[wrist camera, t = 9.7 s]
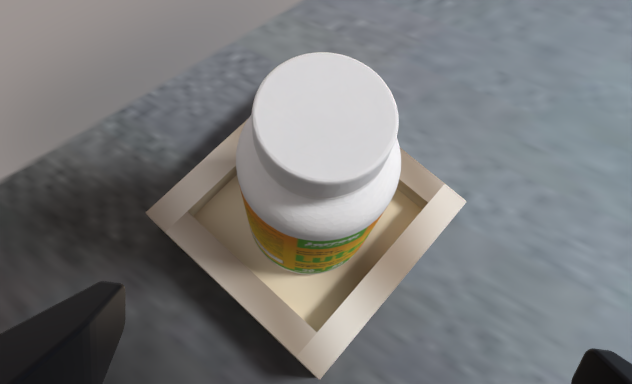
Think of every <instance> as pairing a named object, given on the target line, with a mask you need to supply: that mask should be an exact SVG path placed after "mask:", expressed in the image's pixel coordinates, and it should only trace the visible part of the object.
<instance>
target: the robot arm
mask: <svg viewBox="0 0 632 384" xmlns="http://www.w3.org/2000/svg"><path fill="white" fill-rule="evenodd" d="M124 325H125V287H124V286H123V285H122V284H121V283H114V282H107V281H101V282H98V283H96V284H94V285H92V286H91V287H89V288H87V289H85V290H83V291H81V292H79V293H77V294H75V295H73V296H71V297H70V298H68V299H66V300H64V301H62V302H60V303H58V304H56V305H54V306H52V307H50V308H49V309H47V310H45V311H43V312H41V313H39V314H37V315H35V316H33V317H31V318H29V319H27V320H26V321H24V322H22V323H20V324H18V325H16V326H14V327H12V328H10V329H8V330H6V331H5V332H3V333H1V334H0V384H102V383H103V380H104V378H105V375H106V373H107V370H108V368H109V365H110V363H111V360H112V358H113V355H114V353H115V350H116V348H117V345H118V343H119V340H120V338H121V335H122V332H123V329H124ZM571 384H632V364H631V363H629V362H628V361H626V360H625V359H623V358H622V357H620V356H619V355H617V354H616V353H614V352H612V351H608V350H601V349H589V350H588V351H586V352H585V354H584V356H583V358H582V360H581V362H580V364H579V366H578V368H577V370H576V372H575V374H574V376H573V378H572V382H571Z"/></svg>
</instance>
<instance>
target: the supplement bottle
mask: <svg viewBox="0 0 632 384" xmlns="http://www.w3.org/2000/svg"><path fill="white" fill-rule="evenodd" d="M397 132H398V111H397V106H396V102H395V100H394V97H393V95H392V93H391V91H390V89H389V88H388V86H387V85H386V83H385V82H384V81H383V80H382V78H381V77H380V76H379V75H378V74H377V73H376V72H374V71H373V70H372V69H371V68H369V67H368V66H366V65H365V64H363V63H361V62H359V61H357V60H355V59H353V58H350V57H348V56H344V55H340V54H335V53H326V52H318V53H309V54H304V55H300V56H297V57H294V58H292V59H289V60H287V61H285V62H284V63H282V64H280V65H279V66H277V67H276V68H275V69H274V70H272V71H271V72H270V73H269V74H268V75H267V76H266V78H265V79H264V81H263V82H262V83H261V85H260V87H259V88H258V90H257V93H256V95H255V98H254V102H253V107H252V114H251V116H250V117H249V118H248V120H247V122H246V123H245V125H244V127H243V129H242V132H241V134H240V137H239V140H238V145H237V151H236V170H237V177H238V182H239V186H240V190H241V194H242V198H243V202H244V206H245V210H246V214H247V218H248V222H249V226H250V230H251V233H252V235H253V238H254V240H255V242H256V244H257V246H258V247H259V249H260V250H261V251H262V253H263V254H264V255H265V256H266V257H267V258H268V259H269V260H270V261H272V262H273V263H275V264H276V265H278V266H279V267H281V268H283V269H285V270H288V271H290V272H294V273H298V274H308V275H310V274H320V273H325V272H328V271H331V270H334V269H336V268H338V267H340V266H341V265H343V264H344V263H346V262H347V261H348V260H349V259H351V258H352V257H353V256H354V254H355V253H356V252H357V251H358V250H359V249H360V247H361V246H362V244H363V243H364V241H365V240H366V238H367V237H368V235H369V234H370V232H371V231H372V229H373V228H374V226H375V225H376V223H377V222H378V220H379V219H380V217H381V216H382V214H383V213H384V211H385V210H386V208H387V206H388V205H389V203H390V201H391V199H392V197H393V195H394V193H395V191H396V189H397V185H398V182H399V178H400V172H401V153H400V147H399V143H398V140H397Z"/></svg>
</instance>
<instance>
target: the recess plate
mask: <svg viewBox="0 0 632 384" xmlns="http://www.w3.org/2000/svg"><path fill="white" fill-rule="evenodd" d="M247 120H248V119H247ZM247 120H246V121H245V122H244V123H243V124H242V125H241V126H239V127H238V128H237V129H236V130H235V131H234V132H233V133H232V134H231V135H230V136H229V137H227V138H226V139H225V140H224V141H223V142H222V143H221V144H220V145H219V146H218V147H217V148H215V149H214V150H213V151H212V152H211V153H210V154H209V155H208V156H207V157H206V158H205V159H203V160H202V161H201V162H200V163H199V164H198V165H197V166H196V167H195V168H194V169H193V170H191V171H190V172H189V173H188V174H187V175H186V176H185V177H184V178H183V179H182V180H180V181H179V182H178V183H177V184H176V185H175V186H174V187H173V188H172V189H171V190H170V191H168V192H167V193H166V194H165V195H164V196H163V197H162V198H161V199H160V200H159V201H158V202H156V203H155V204H154V205H153V206H152V207H151V208H150V209H149V210H148V211H147V212H146V214H147V215H148V216H149V217H150V218H151V219H152V221H153V222H154V223H155V224H156V225H157V226H158V227H159V228H160V229H161V230H162V231H163V232H165V233H166V234H167V235H168V236H169V237H170V238H171V239H172V240H173V241H174V242H175V243H176V244H177V245H178V246H179V247H180V248H181V249H182V250H183V251H184V252H185V253H186V254H188V255H189V256H190V257H191V258H192V259H193V260H194V261H195V262H196V263H197V264H198V265H199V266H200V267H201V268H202V269H203V270H204V271H205V272H206V273H207V274H208V275H209V276H211V277H212V278H213V279H214V280H215V281H216V282H217V283H218V284H219V285H220V286H221V287H222V288H223V289H224V290H225V291H226V292H227V293H228V294H229V295H230V296H231V297H232V298H234V299H235V300H236V301H237V302H238V303H239V304H240V305H241V306H242V307H243V308H244V309H245V310H246V311H247V312H248V313H249V314H250V315H251V316H252V317H253V318H254V319H255V320H256V321H258V322H259V323H260V324H261V325H262V326H263V327H264V328H265V329H266V330H267V331H268V332H269V333H270V334H271V335H272V336H273V337H274V338H275V339H276V340H277V341H278V342H279V343H281V344H282V345H283V346H284V347H285V348H286V349H287V350H288V351H289V352H290V353H291V354H292V355H293V356H294V357H295V358H296V359H297V360H298V361H299V362H300V363H301V364H302V365H304V366H305V367H306V368H307V369H308V370H309V371H310V372H311V373H312V374H313V375H314V376H315V377H316V378H318V379H319V380H320V379H321V377H322V376H323V375H324V374H325V373H326V371H327V370H328V369H329V368H330V366H331V365H332V364H333V363H334V362H335V360H336V359H337V358H338V357H339V356H340V354H341V353H342V352H343V351H344V350H345V348H346V347H347V346H348V345H349V343H350V342H351V341H352V340H353V339H354V337H355V336H356V335H357V334H358V333H359V331H360V330H361V329H362V328H363V327H364V325H365V324H366V323H367V322H368V320H369V319H370V318H371V317H372V316H373V314H374V313H375V312H376V311H377V310H378V308H379V307H380V306H381V305H382V304H383V302H384V301H385V300H386V299H387V297H388V296H389V295H390V294H391V293H392V291H393V290H394V289H395V288H396V287H397V285H398V284H399V283H400V282H401V281H402V279H403V278H404V277H405V276H406V274H407V273H408V272H409V271H410V270H411V268H412V267H413V266H414V265H415V264H416V262H417V261H418V260H419V259H420V257H421V256H422V255H423V254H424V253H425V251H426V250H427V249H428V248H429V247H430V245H431V244H432V243H433V242H434V241H435V239H436V238H437V237H438V236H439V234H440V233H441V232H442V231H443V230H444V228H445V227H446V226H447V225H448V224H449V222H450V221H451V220H452V219H453V218H454V216H455V215H456V214H457V213H458V211H459V210H460V209H461V208H462V207H463V205H464V204H465V203H466V202H467V201H466V200H464V199H463V198H462V197H461V196H459V195H458V194H457V193H456V192H454V191H453V190H452V189H451V188H449V187H448V186H447V185H446V184H445V183H443V182H442V181H441V180H440V179H438V178H437V177H436V176H435V175H433V174H432V173H431V172H430V171H428V170H427V169H426V168H425V167H423V166H422V165H421V164H420V163H419V162H417V161H416V160H415V159H414V158H412V157H411V156H410V155H409V154H407V153H406V152H405V151H404V150H402V149H401V148H400V153H401V172H400V178H399V182H398V185H397V189H396V191H395V193H394V195H393V197H392V199H391V201H390V203H389V205H388V206H387V208H386V210H385V211H384V213H383V214H382V216H381V217H380V219H379V220H378V222H377V223H376V225H375V226H374V228H373V229H372V231H371V232H370V234H369V235H368V237H367V238H366V240H365V241H364V243H363V244H362V246H361V247H360V249H359V250H358V251H357V252H356V253H355V254H354V256H353V257H352V258H351V259H349V260H348V261H347V262H346V263H344V264H343V265H341V266H340V267H338V268H336V269H334V270H331V271H328V272H325V273H320V274H310V275H308V274H298V273H294V272H290V271H288V270H285V269H283V268H281V267H279V266H278V265H276V264H275V263H273V262H272V261H270V260H269V259H268V258H267V257H266V256H265V255H264V254H263V253H262V251H261V250H260V249H259V247H258V246H257V244H256V242H255V240H254V238H253V235H252V233H251V230H250V226H249V222H248V218H247V214H246V210H245V206H244V202H243V198H242V194H241V190H240V186H239V182H238V177H237V170H236V151H237V145H238V140H239V137H240V134H241V132H242V129H243V127H244V125H245V123H246V122H247Z"/></svg>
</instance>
